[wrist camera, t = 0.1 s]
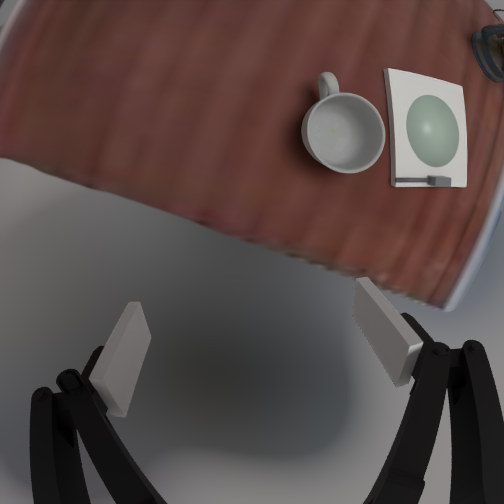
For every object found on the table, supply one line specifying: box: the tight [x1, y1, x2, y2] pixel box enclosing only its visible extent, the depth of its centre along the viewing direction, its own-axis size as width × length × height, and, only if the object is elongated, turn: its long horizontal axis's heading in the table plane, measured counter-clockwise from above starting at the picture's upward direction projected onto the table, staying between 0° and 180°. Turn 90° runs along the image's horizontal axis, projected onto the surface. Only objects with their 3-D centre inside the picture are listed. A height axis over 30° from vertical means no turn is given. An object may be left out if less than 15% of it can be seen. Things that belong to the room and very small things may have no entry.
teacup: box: [301, 72, 385, 173], centre depth 35 cm, size 14×11×8 cm
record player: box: [383, 68, 467, 187], centre depth 37 cm, size 20×18×4 cm
